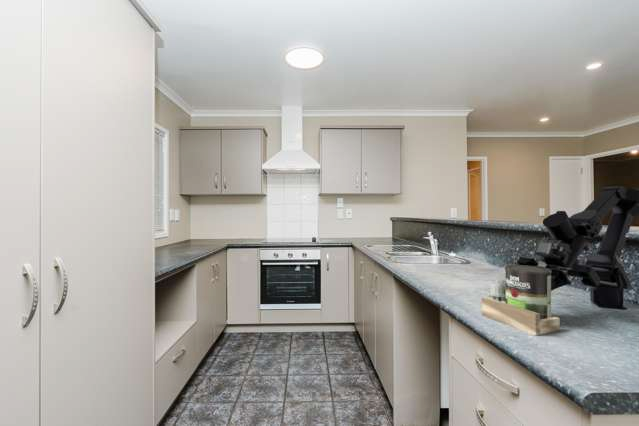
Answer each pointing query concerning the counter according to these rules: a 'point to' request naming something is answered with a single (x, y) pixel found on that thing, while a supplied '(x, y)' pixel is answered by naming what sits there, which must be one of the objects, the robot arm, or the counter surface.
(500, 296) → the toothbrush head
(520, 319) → the maple cradle
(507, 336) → the counter surface
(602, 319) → the counter surface
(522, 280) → the dark container
